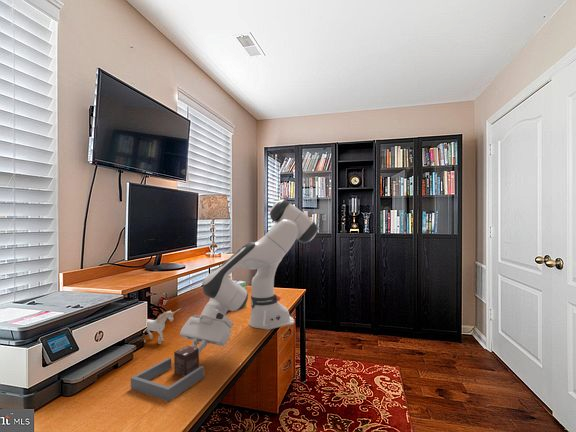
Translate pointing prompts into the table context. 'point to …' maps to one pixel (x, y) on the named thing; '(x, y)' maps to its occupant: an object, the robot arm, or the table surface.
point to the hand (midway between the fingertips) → (194, 352)
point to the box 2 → (186, 360)
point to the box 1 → (161, 391)
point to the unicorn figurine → (159, 324)
